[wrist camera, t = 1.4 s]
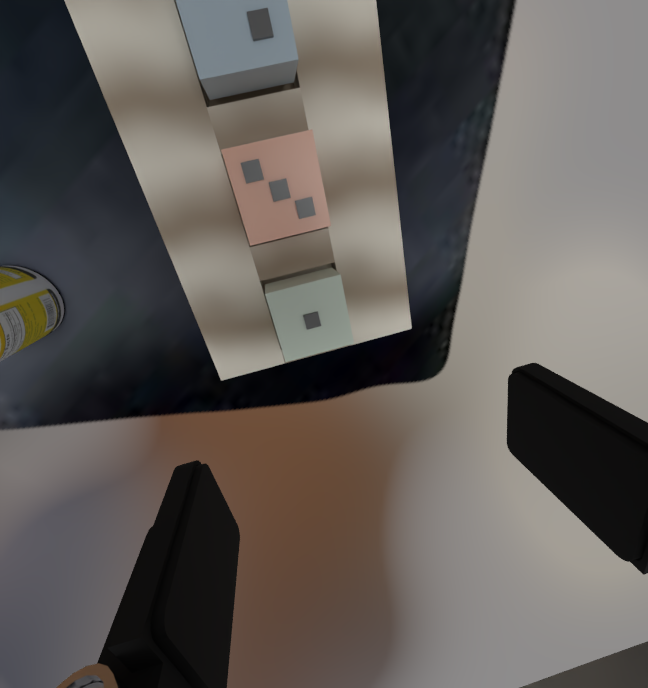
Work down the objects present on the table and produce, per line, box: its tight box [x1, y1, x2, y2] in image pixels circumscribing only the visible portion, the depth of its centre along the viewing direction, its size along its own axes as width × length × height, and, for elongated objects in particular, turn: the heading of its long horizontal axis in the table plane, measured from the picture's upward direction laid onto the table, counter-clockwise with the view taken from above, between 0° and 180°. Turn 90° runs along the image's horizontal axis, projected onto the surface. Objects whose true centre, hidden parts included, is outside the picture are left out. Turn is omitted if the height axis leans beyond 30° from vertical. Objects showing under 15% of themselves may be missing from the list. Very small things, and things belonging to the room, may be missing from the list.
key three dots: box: [221, 130, 331, 246], centre depth 19 cm, size 5×5×3 cm
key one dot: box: [265, 267, 354, 362], centre depth 22 cm, size 5×5×3 cm
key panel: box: [64, 0, 412, 381], centre depth 22 cm, size 24×16×3 cm, turn 12°
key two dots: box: [176, 0, 299, 100], centre depth 16 cm, size 5×5×3 cm
